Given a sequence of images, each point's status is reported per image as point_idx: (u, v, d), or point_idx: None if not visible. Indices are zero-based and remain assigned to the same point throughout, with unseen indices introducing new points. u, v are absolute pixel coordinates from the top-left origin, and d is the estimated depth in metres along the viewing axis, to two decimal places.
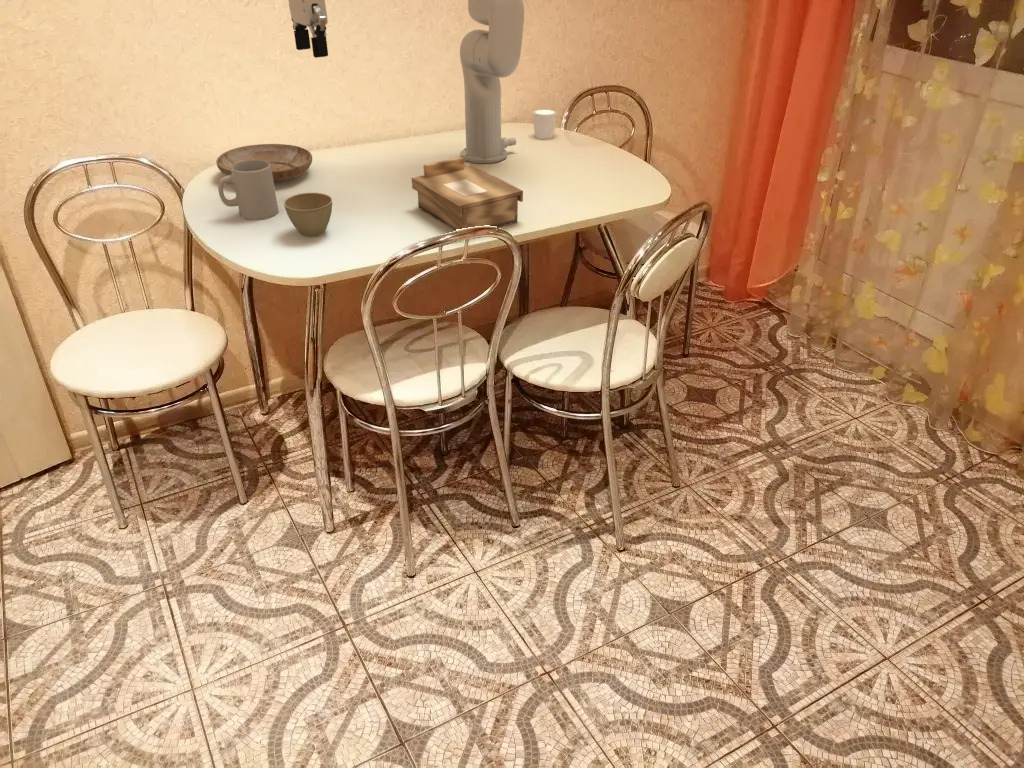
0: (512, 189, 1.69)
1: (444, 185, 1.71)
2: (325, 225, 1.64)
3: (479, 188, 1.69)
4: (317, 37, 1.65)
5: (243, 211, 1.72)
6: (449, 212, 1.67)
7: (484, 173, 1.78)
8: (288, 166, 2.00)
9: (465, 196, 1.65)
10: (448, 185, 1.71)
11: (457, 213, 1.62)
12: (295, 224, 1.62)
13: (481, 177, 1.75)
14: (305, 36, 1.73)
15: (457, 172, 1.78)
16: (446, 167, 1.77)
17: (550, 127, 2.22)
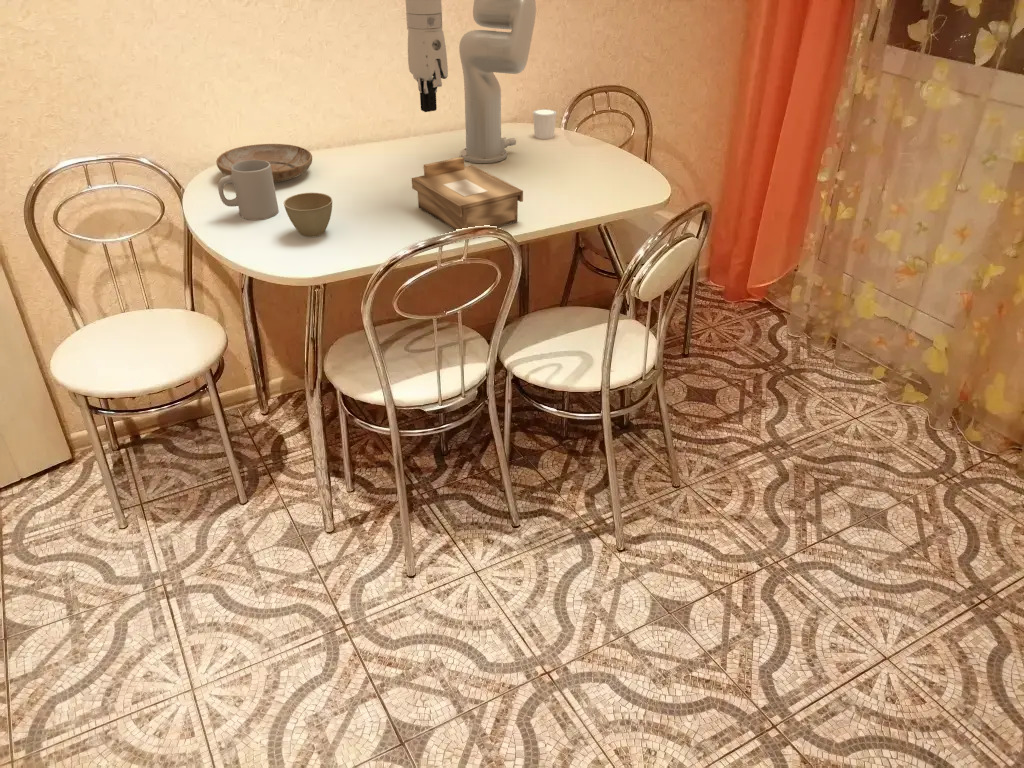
0: (512, 189, 1.69)
1: (444, 185, 1.71)
2: (325, 225, 1.64)
3: (479, 188, 1.69)
4: (428, 93, 1.71)
5: (243, 211, 1.72)
6: (449, 212, 1.67)
7: (484, 173, 1.78)
8: (288, 166, 2.00)
9: (465, 196, 1.65)
10: (448, 185, 1.71)
11: (457, 213, 1.62)
12: (295, 224, 1.62)
13: (481, 177, 1.75)
14: None
15: (457, 172, 1.78)
16: (446, 167, 1.77)
17: (550, 127, 2.22)
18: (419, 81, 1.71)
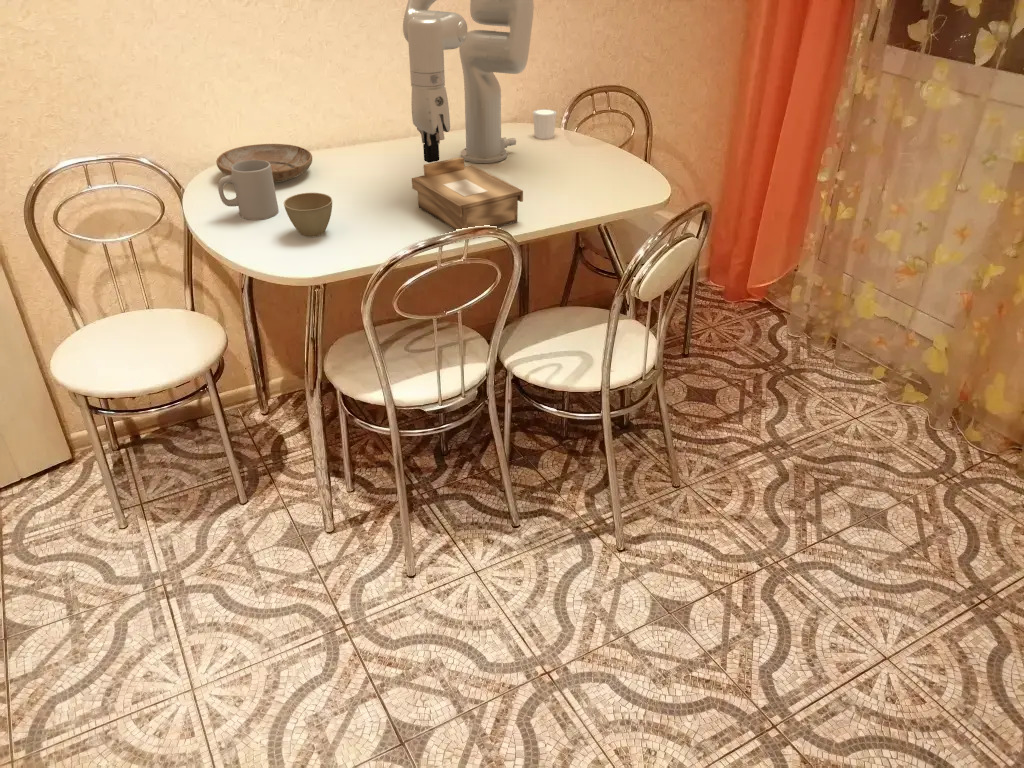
0: (512, 189, 1.69)
1: (444, 185, 1.71)
2: (325, 225, 1.64)
3: (479, 188, 1.69)
4: (431, 145, 1.77)
5: (243, 211, 1.72)
6: (449, 212, 1.67)
7: (484, 173, 1.78)
8: (288, 166, 2.00)
9: (465, 196, 1.65)
10: (448, 185, 1.71)
11: (457, 213, 1.62)
12: (295, 224, 1.62)
13: (481, 177, 1.75)
14: None
15: (457, 172, 1.78)
16: (446, 167, 1.77)
17: (550, 127, 2.22)
18: (422, 133, 1.78)
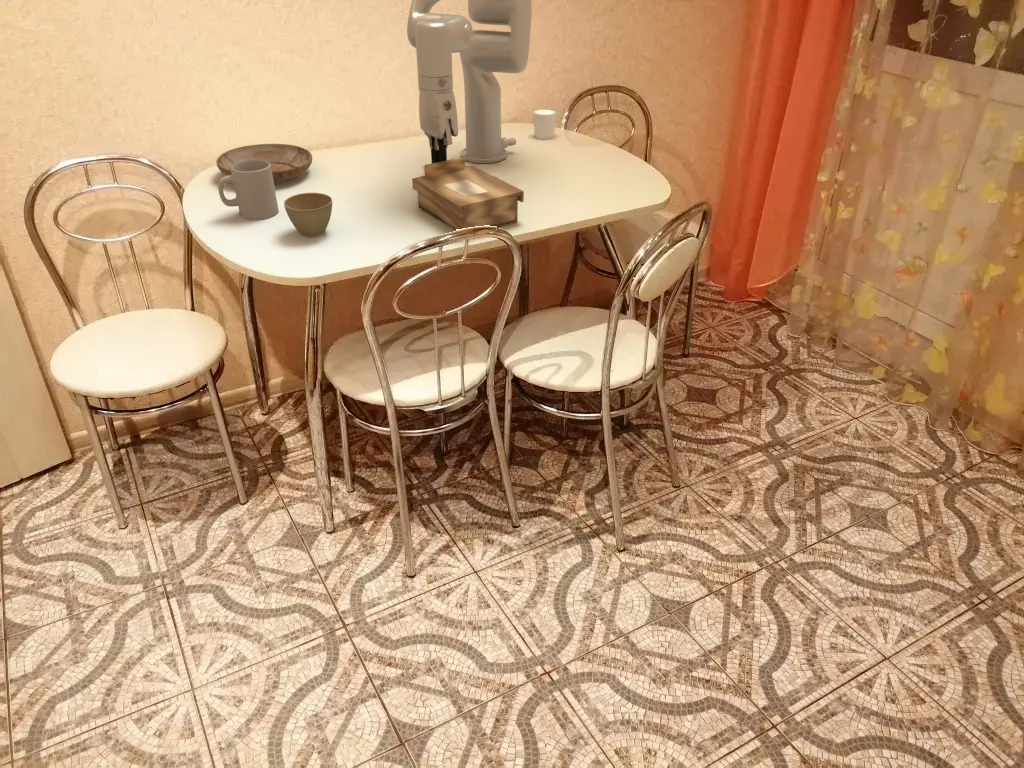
0: (513, 189, 1.69)
1: (445, 185, 1.70)
2: (325, 225, 1.64)
3: (480, 188, 1.69)
4: (439, 150, 1.75)
5: (243, 211, 1.72)
6: (449, 212, 1.67)
7: (485, 173, 1.77)
8: (288, 166, 2.00)
9: (466, 196, 1.65)
10: (449, 185, 1.70)
11: (458, 213, 1.62)
12: (295, 224, 1.62)
13: (482, 178, 1.75)
14: None
15: (458, 172, 1.78)
16: (447, 167, 1.77)
17: (550, 127, 2.22)
18: (430, 138, 1.75)
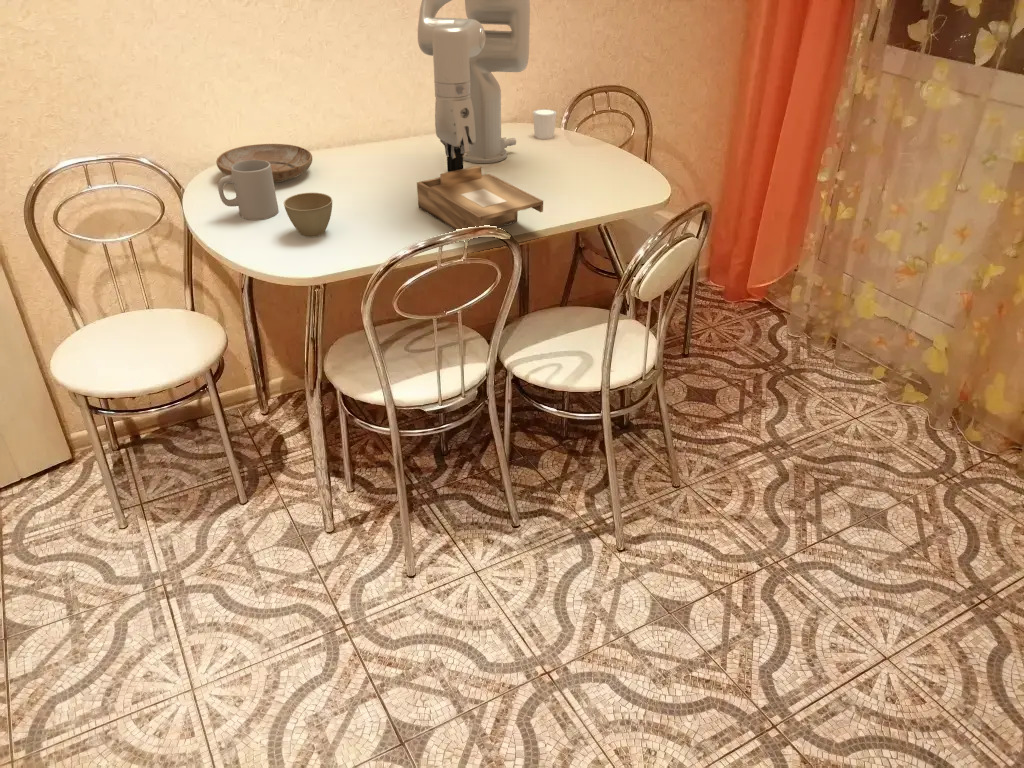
0: (532, 199, 1.64)
1: (462, 195, 1.66)
2: (325, 225, 1.64)
3: (498, 198, 1.64)
4: (455, 158, 1.70)
5: (243, 211, 1.72)
6: (449, 212, 1.67)
7: (502, 182, 1.73)
8: (288, 166, 2.00)
9: (484, 207, 1.60)
10: (466, 195, 1.65)
11: (476, 224, 1.57)
12: (295, 224, 1.62)
13: (499, 187, 1.70)
14: None
15: (474, 181, 1.73)
16: (463, 176, 1.72)
17: (550, 127, 2.22)
18: (446, 146, 1.71)
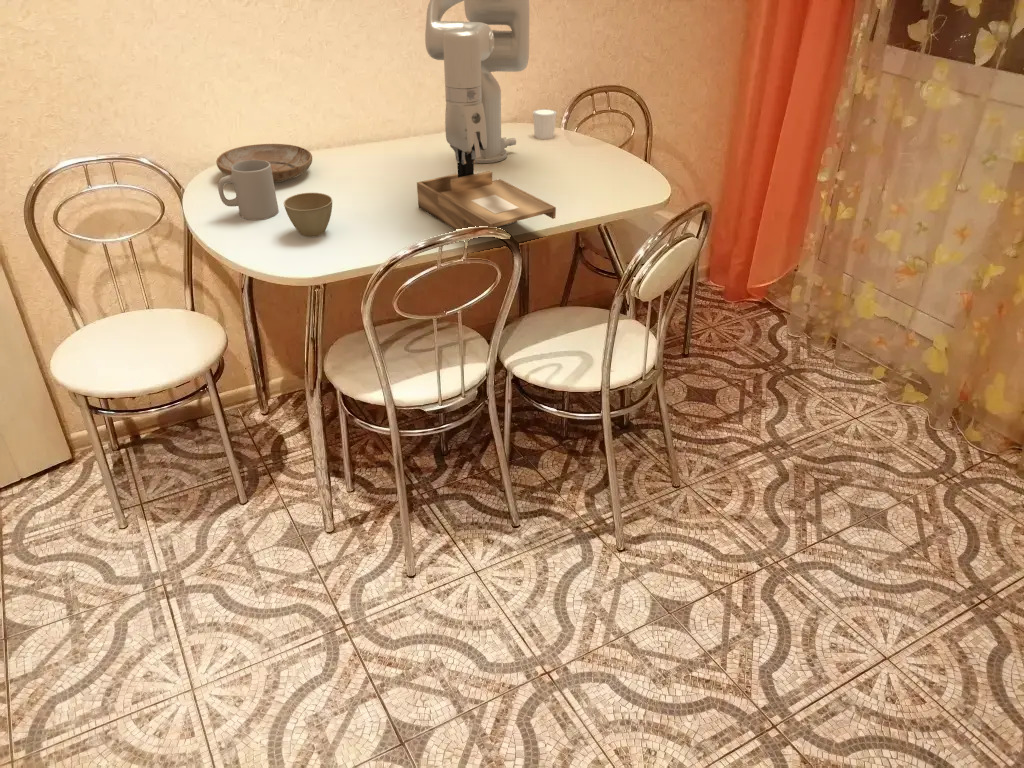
0: (544, 205, 1.61)
1: (473, 201, 1.63)
2: (325, 225, 1.64)
3: (510, 204, 1.61)
4: (466, 164, 1.67)
5: (243, 211, 1.72)
6: (449, 212, 1.67)
7: (513, 188, 1.70)
8: (288, 166, 2.00)
9: (496, 213, 1.57)
10: (477, 201, 1.62)
11: None
12: (295, 224, 1.62)
13: (511, 193, 1.67)
14: None
15: (485, 187, 1.70)
16: (474, 182, 1.69)
17: (550, 127, 2.22)
18: (457, 151, 1.68)
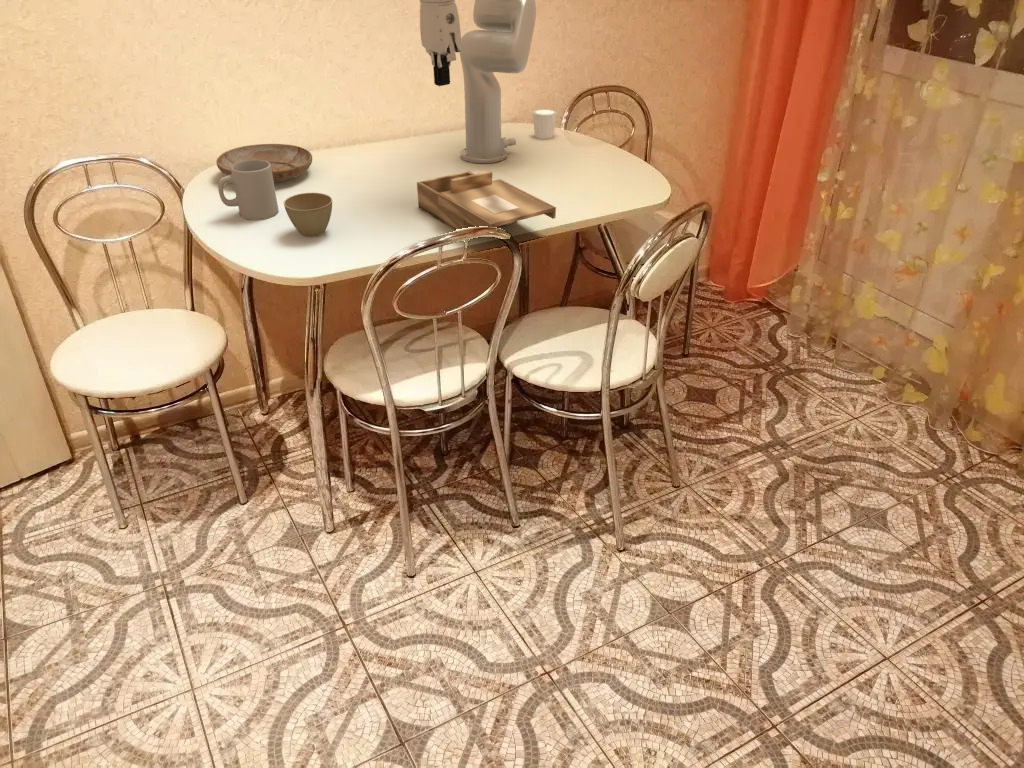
0: (544, 205, 1.61)
1: (473, 201, 1.63)
2: (325, 225, 1.64)
3: (510, 204, 1.61)
4: (442, 67, 1.71)
5: (243, 211, 1.72)
6: (449, 212, 1.67)
7: (513, 188, 1.70)
8: (288, 166, 2.00)
9: (496, 213, 1.57)
10: (477, 201, 1.62)
11: None
12: (295, 224, 1.62)
13: (511, 193, 1.67)
14: None
15: (485, 187, 1.70)
16: (474, 182, 1.69)
17: (550, 127, 2.22)
18: (432, 55, 1.71)
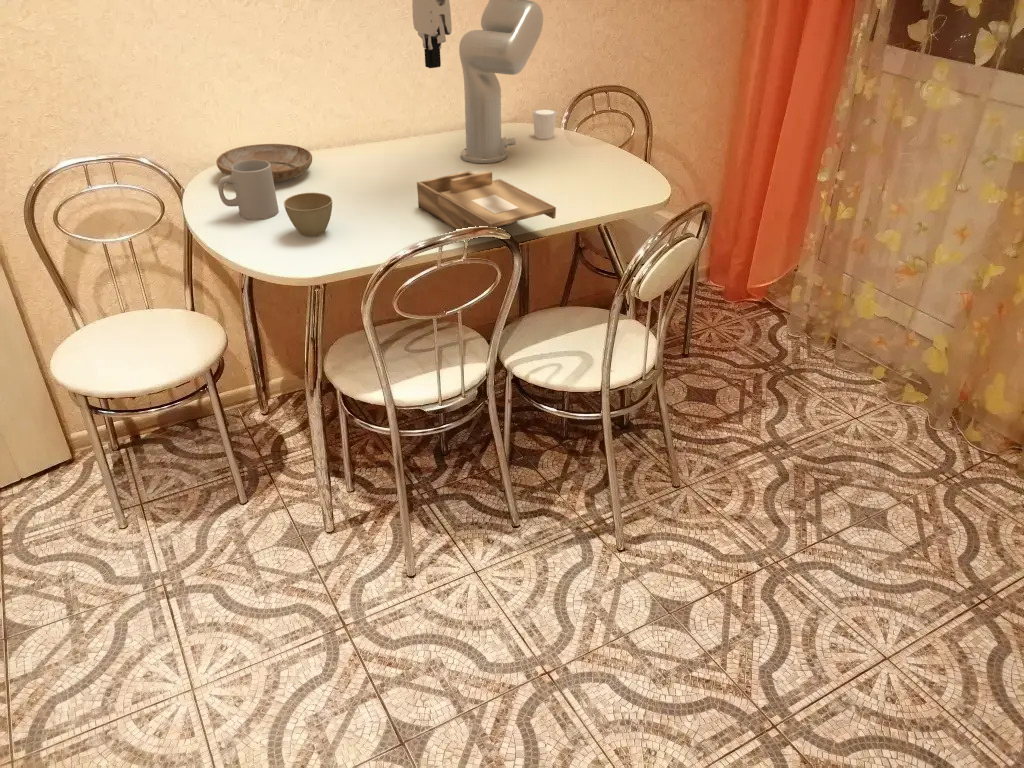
0: (544, 205, 1.61)
1: (473, 201, 1.63)
2: (325, 225, 1.64)
3: (510, 204, 1.61)
4: (433, 49, 1.75)
5: (243, 211, 1.72)
6: (449, 212, 1.67)
7: (513, 188, 1.70)
8: (288, 166, 2.00)
9: (496, 213, 1.57)
10: (477, 201, 1.62)
11: None
12: (295, 224, 1.62)
13: (511, 193, 1.67)
14: None
15: (485, 187, 1.70)
16: (474, 182, 1.69)
17: (550, 127, 2.22)
18: (423, 38, 1.76)
